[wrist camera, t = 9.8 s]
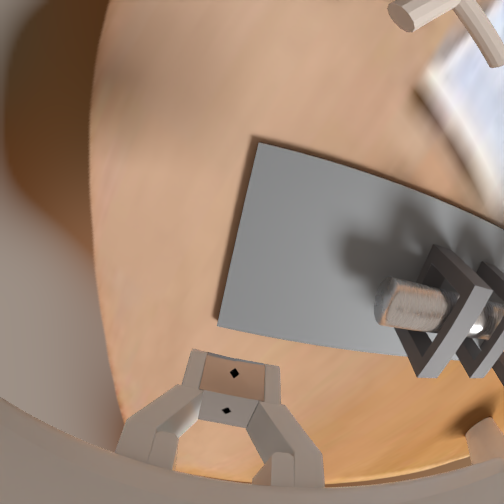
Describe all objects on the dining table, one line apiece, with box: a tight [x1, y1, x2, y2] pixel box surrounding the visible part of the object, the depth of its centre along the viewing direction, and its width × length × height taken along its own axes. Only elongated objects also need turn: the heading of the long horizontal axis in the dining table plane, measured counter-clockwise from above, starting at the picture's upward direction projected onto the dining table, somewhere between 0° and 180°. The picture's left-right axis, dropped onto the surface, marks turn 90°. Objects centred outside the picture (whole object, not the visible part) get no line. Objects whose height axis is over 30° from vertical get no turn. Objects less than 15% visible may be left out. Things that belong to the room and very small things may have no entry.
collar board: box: [217, 142, 504, 386], centre depth 17 cm, size 14×32×10 cm, turn 77°
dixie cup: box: [465, 417, 504, 465], centre depth 29 cm, size 8×8×10 cm
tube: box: [374, 277, 504, 340], centre depth 19 cm, size 4×20×4 cm, turn 77°
